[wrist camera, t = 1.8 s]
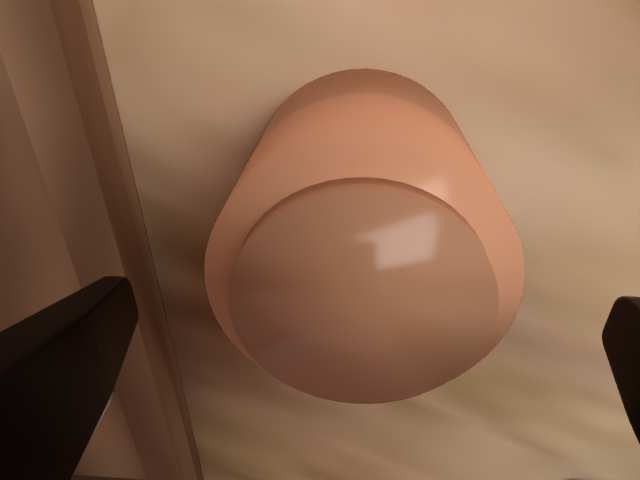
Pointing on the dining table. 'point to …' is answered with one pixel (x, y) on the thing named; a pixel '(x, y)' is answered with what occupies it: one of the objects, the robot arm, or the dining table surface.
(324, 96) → the jar
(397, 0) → the dining table surface
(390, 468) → the dining table surface
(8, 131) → the lane
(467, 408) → the dining table surface
